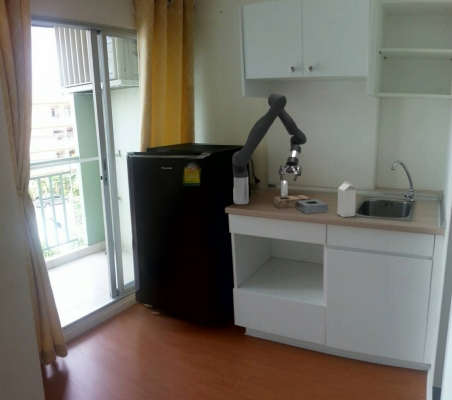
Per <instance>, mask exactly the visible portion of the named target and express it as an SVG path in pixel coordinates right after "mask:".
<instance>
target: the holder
mask: <svg viewBox="0 0 452 400" xmlns="http://www.w3.org/2000/svg"><path fill="white" fill-rule="evenodd" d="M295 209H297V210H299V211H300V212H302V213H303V214H305V215H309V214H319V213H328V212H329V204H328V203H327V202H325V201H322V200H321V199H319V198H317V199H316V198H315V199H314V198H313V199H310V200H301V201H296V207H295Z"/></svg>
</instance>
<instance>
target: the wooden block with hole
mask: <svg viewBox="0 0 452 400" xmlns="http://www.w3.org/2000/svg"><path fill="white" fill-rule="evenodd" d="M301 200H311V197H309V196H307V195H305V194H300V195H299V194H298V195H288V199H283V200H281V196H273V206H275V207H276V208H277V209H279V210H281V209H292V208H296V201H301Z"/></svg>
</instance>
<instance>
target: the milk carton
mask: <svg viewBox="0 0 452 400" xmlns="http://www.w3.org/2000/svg"><path fill="white" fill-rule="evenodd" d="M356 196H357V189H356V188H354V186H353V184H352V183H351V182H349V181H346V180H344V181H343V183H341V185H340V186H339V187H338V188H337V212H336V213H337V215H339V216H341V217H342V218H347V217H356V198H357V197H356Z"/></svg>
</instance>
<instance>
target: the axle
mask: <svg viewBox="0 0 452 400" xmlns="http://www.w3.org/2000/svg"><path fill="white" fill-rule="evenodd" d="M288 185H289V184H288V180H287V179H283V180H280V197H281V200H283V199H288V196H289V194H288V190H289V189H288Z"/></svg>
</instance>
